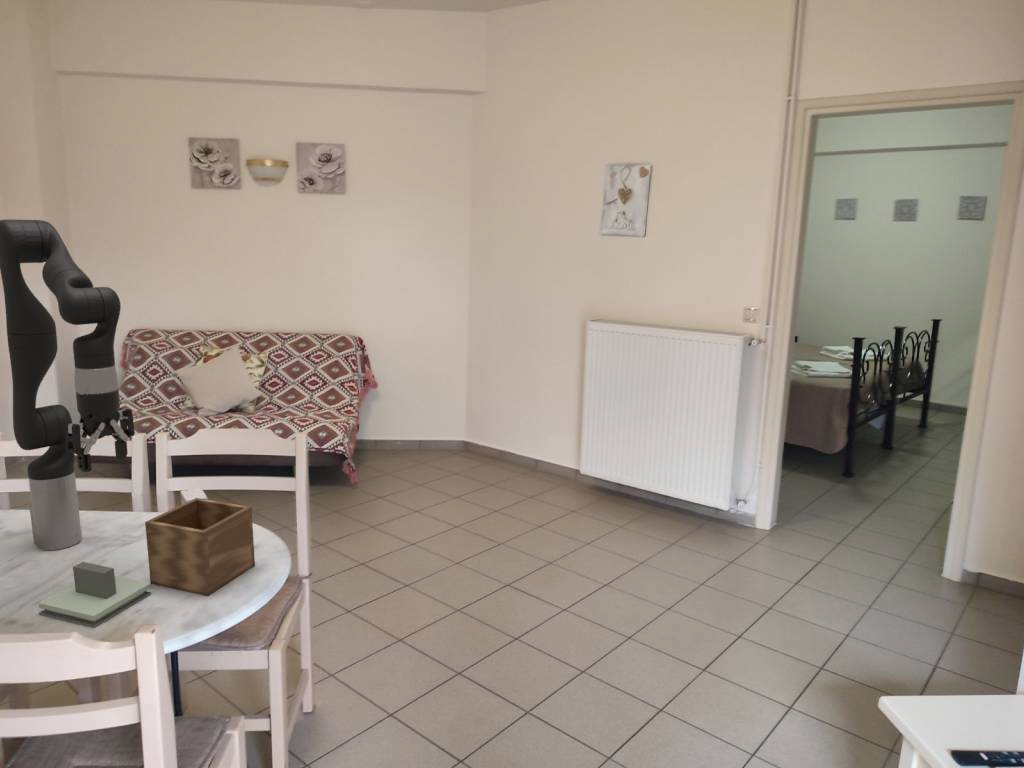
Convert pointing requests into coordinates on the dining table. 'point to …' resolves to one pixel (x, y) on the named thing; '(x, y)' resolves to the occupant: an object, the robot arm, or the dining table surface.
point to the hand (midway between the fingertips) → (104, 464)
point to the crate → (200, 545)
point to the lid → (94, 593)
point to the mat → (91, 623)
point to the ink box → (192, 495)
